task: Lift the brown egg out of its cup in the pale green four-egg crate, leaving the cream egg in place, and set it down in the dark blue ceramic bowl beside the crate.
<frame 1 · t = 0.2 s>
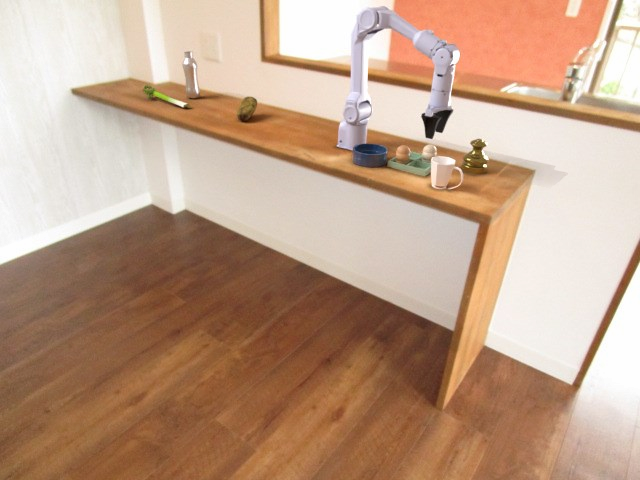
hand: (434, 135, 140), 10 cm above the worktop, tool pointing down, fingers open, 7 cm apart
cup: (443, 189, 131), on the worktop
leek: (166, 103, 205), on the worktop
gold decorative ornament: (472, 171, 143), on the worktop
cream egg: (427, 164, 146), resting on egg crate
potato: (246, 119, 187), on the worktop
plastic bottle: (193, 98, 213), on the worktop
bowl: (369, 162, 147), on the worktop
brown egg: (401, 165, 144), resting on egg crate
egg crate: (414, 166, 145), on the worktop
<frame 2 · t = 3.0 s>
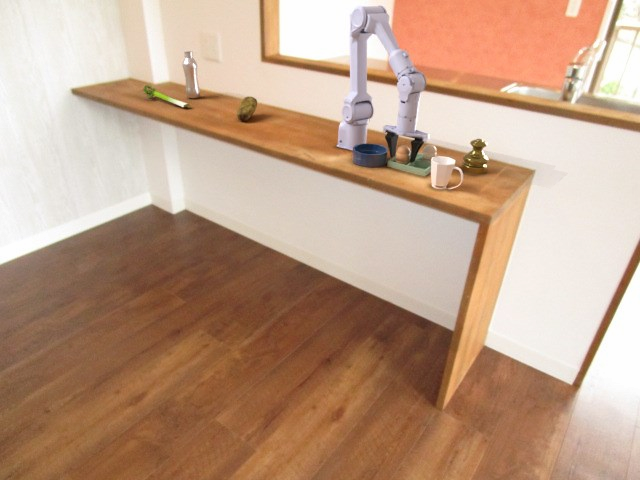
hand: (402, 159, 143), 3 cm above the worktop, tool pointing down, fingers open, 6 cm apart
nothing on the worktop moved.
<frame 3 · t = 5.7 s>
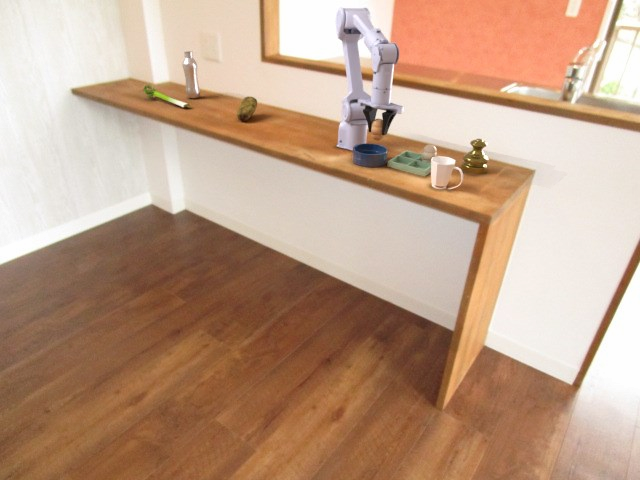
hand: (377, 133, 142), 10 cm above the worktop, tool pointing down, fingers closed on brown egg, 4 cm apart
brown egg: (377, 139, 143), point 8 cm above the worktop, touching gripper
everything else where it was.
when the fingers open (3 cm above the worktop, at t = 8.1 s): brown egg stays where it is, resting on bowl.
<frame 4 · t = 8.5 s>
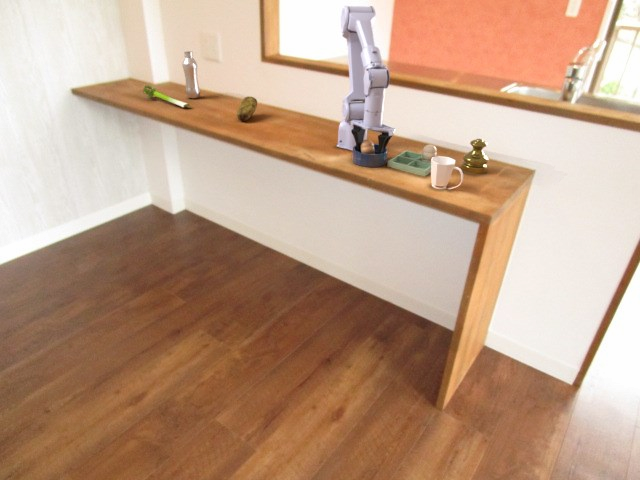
hand: (370, 153, 146), 3 cm above the worktop, tool pointing down, fingers open, 7 cm apart
brown egg: (369, 160, 147), point 1 cm above the worktop, tilted 20°, touching bowl, gripper
everything else where it was.
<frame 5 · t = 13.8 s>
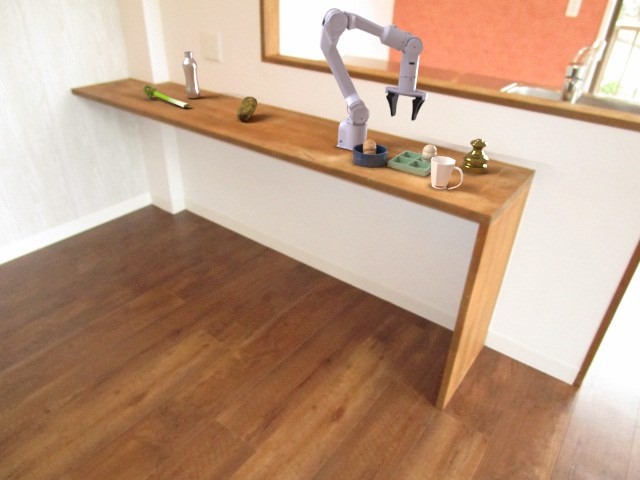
hand: (403, 117, 155), 10 cm above the worktop, tool pointing down, fingers open, 7 cm apart
brown egg: (369, 159, 147), point 1 cm above the worktop, tilted 40°, touching bowl
everything else where it was.
at the end: brown egg inside the target area in the bowl (0.1 cm from its centre), point 1.0 cm above the bowl's base; the gripper is holding nothing; cream egg moved 0.0 cm from its start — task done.
